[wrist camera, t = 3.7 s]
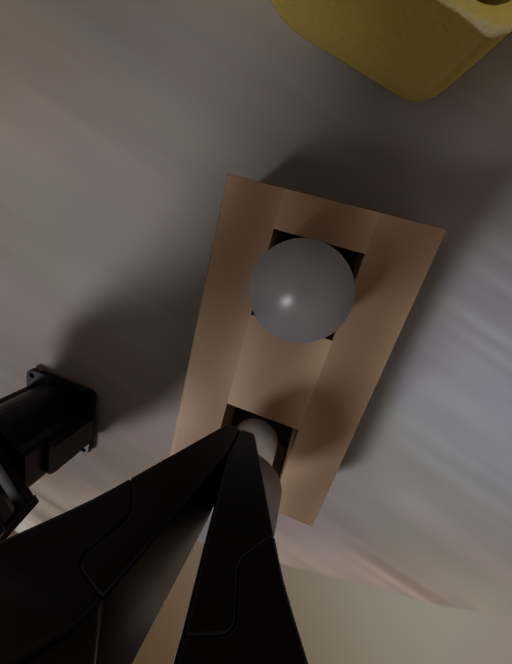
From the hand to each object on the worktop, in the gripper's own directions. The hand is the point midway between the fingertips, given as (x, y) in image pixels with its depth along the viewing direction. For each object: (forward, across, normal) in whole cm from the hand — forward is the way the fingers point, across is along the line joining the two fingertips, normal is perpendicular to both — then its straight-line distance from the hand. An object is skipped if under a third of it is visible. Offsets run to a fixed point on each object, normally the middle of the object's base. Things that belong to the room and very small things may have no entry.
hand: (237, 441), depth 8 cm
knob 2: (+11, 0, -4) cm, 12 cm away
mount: (+12, 0, +1) cm, 12 cm away
